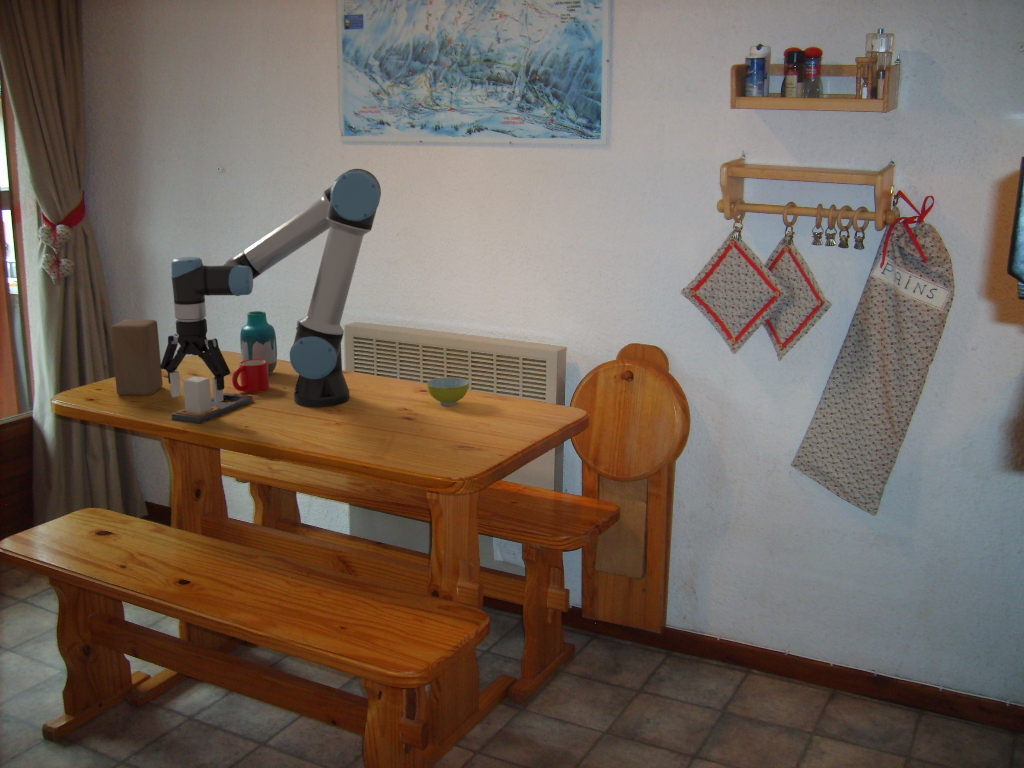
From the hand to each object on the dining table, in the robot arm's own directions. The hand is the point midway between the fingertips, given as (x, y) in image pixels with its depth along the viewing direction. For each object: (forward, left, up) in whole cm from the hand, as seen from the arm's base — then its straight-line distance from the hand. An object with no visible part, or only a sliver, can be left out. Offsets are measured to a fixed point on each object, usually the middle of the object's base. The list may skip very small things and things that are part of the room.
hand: (197, 398), depth 253 cm
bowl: (-55, -36, -5) cm, 66 cm away
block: (+31, -13, -5) cm, 34 cm away
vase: (+11, -42, -5) cm, 44 cm away
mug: (+3, -26, -5) cm, 27 cm away
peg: (0, 0, -5) cm, 5 cm away
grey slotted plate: (0, -6, -5) cm, 8 cm away
